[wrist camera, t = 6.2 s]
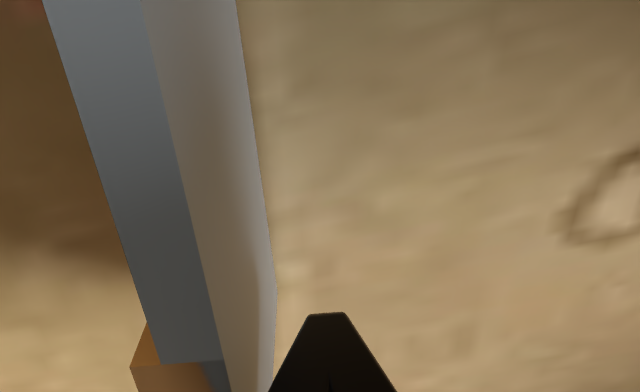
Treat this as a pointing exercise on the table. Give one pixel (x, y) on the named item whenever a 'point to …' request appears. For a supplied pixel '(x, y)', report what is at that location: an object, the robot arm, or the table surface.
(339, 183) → the table surface
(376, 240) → the table surface
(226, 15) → the side door
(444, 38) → the table surface
